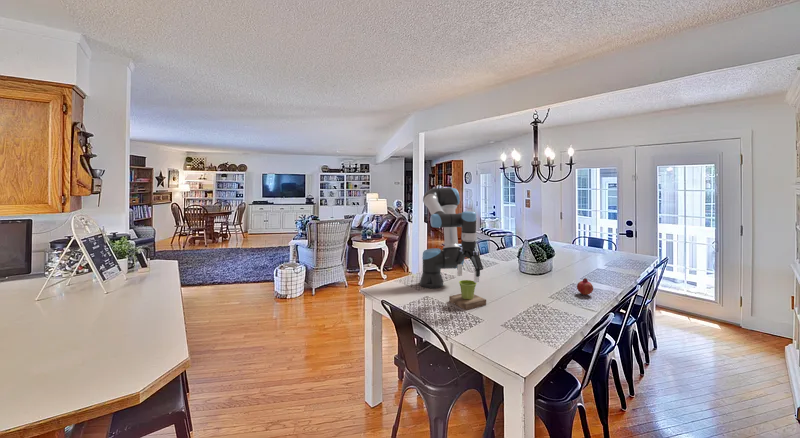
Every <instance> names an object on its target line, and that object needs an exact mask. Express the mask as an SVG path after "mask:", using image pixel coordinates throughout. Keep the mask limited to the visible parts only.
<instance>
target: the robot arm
mask: <svg viewBox="0 0 800 438" xmlns="http://www.w3.org/2000/svg"><path fill="white" fill-rule="evenodd" d="M460 200H461V198H460V192H459V191H458V189H457V188H454V187H433V188H431V189H428V190H427V191H426V192H425V193H424V195H423V197H422V202H423V205H424V206H425V207H427V209H428V211H429V214H430V226H431V227H432V228H437V229H438V228H443V236H444V237H443V239H444V246H443V247H442V250H441V248H439V247H436V248H435V247H434V248H427V249H426V250H423V252H422V258H421V259H422V274H421V277H420V280H419V285H420V286H421V287H422V288H425V289H439V288H442V287H444V281H443V277H442V274H441V270H445V269H446V270H447V269H448V270H449V269H453V270H454V269H457V277H461V276H463V266H464V263H465V259H466V258H467V259H469V260H470V261H471V263H472V265H473V267H474V274H473V276H474V277H473V279H474V280H473V281H474V283H477V284H478V283H480V277H481V271H482V270H484V266H483V263H482V260H481V256H480V251H479V250H475V249H476V245H477V244H476V243H477V242H476V240H477V213H476V212H475V211H472V210H470V211H469V210H468V211H467V210H466V211H462V212H460V213H457V212H456V210H457V208H458V205H460V202H461V201H460ZM458 228H461V245H459V239H458Z"/></svg>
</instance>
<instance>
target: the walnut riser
mask: <svg viewBox="0 0 800 438" xmlns="http://www.w3.org/2000/svg"><path fill="white" fill-rule="evenodd" d="M449 302H450V303H451V304H453V305H456V306H458V307H460V308H461V309H463V310H465V311H468V310H472V309H477V308H480V307H483V306H484V307H485V306H486V305H487V299H486V298H483V297H481V296H479V295H476V294H475V293H474V296H473V299H471V300H470V299H463V298H462V295H461V293H458V294H454V295H450V296H449Z"/></svg>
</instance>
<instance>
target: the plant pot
mask: <svg viewBox="0 0 800 438" xmlns="http://www.w3.org/2000/svg"><path fill="white" fill-rule="evenodd" d="M458 284H459V286H460V294H461V295H462V298H463V299H470V300H471V299H473V296H474V294H475V290H476V286H477V284H478V282H477V283H474V280H470V279H464V280H463V279H462V280H459V281H458Z"/></svg>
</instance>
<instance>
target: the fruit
mask: <svg viewBox="0 0 800 438" xmlns="http://www.w3.org/2000/svg"><path fill="white" fill-rule="evenodd" d="M576 289H577V290H578V292H579V293H580V295H584V296H587V295H588V296H589V295H590V294H592V293H593V291H594V285H593V284H592V283H591V282H590V281H588V278H587V277H584V278H583V279H582V280H581V281H579V282H578V283H577V285H576Z"/></svg>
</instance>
